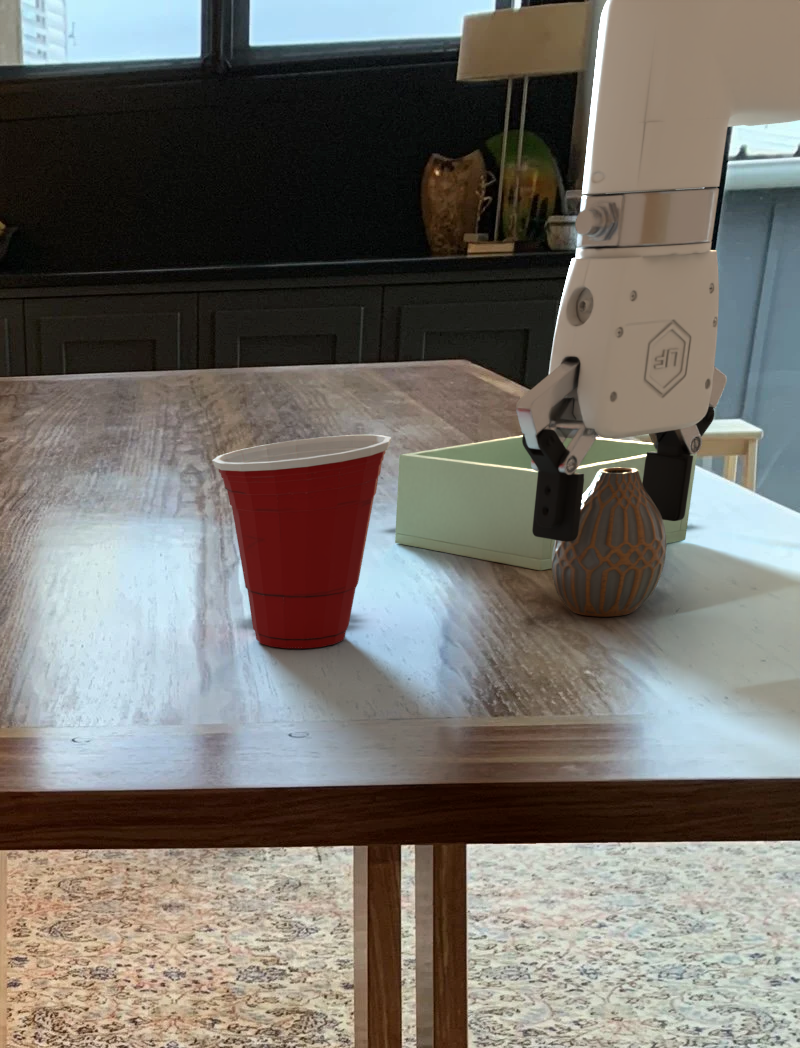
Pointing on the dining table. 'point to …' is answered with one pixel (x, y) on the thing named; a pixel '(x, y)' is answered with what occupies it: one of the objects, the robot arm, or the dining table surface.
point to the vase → (611, 548)
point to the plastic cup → (303, 531)
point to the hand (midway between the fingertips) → (608, 528)
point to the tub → (496, 498)
